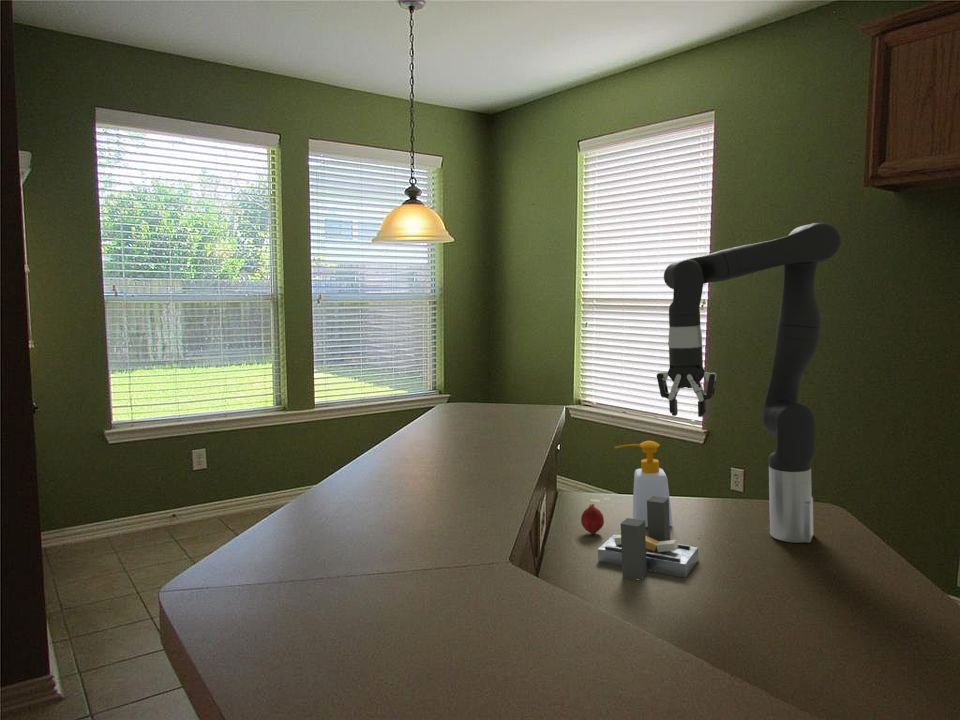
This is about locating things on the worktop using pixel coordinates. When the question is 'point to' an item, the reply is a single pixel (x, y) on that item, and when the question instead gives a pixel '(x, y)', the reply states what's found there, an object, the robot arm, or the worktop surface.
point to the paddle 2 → (667, 545)
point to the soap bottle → (648, 482)
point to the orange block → (651, 543)
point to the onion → (592, 519)
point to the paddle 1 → (618, 540)
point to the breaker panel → (654, 558)
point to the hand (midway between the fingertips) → (687, 415)
